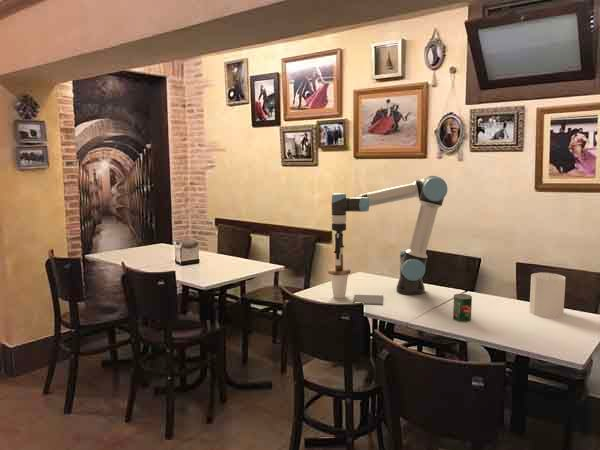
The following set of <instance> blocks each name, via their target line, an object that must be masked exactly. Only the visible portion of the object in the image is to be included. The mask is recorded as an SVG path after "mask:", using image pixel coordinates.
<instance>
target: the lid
mask: <svg viewBox="0 0 600 450" xmlns="http://www.w3.org/2000/svg"><path fill="white" fill-rule="evenodd" d="M334 266H335V267H333V268H329V269H327V273H328V274H329V275H330V274H331V275H348V276H349V275H350V274H351V269H350V268H346V267H344V253H343V254H341V265H334Z"/></svg>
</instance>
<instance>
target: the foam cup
mask: <svg viewBox="0 0 600 450" xmlns="http://www.w3.org/2000/svg"><path fill="white" fill-rule="evenodd" d="M329 276H330V281H331V288H332V295H333V298H336V299H343V298H346V292H347V287H348V286H347V285H348V278H349V274H348V275H331V274H329Z"/></svg>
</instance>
